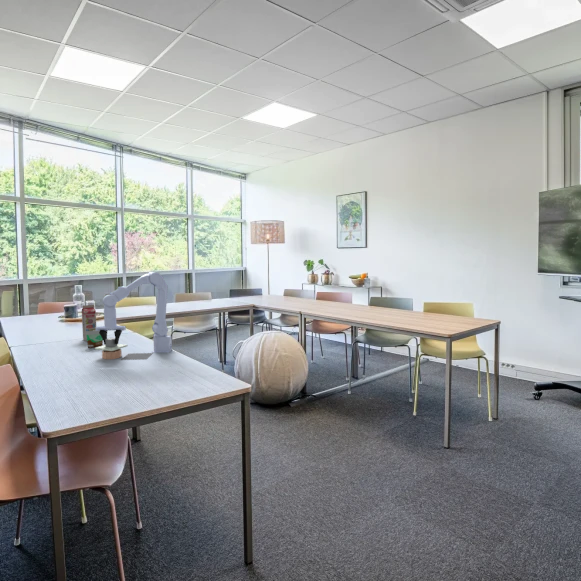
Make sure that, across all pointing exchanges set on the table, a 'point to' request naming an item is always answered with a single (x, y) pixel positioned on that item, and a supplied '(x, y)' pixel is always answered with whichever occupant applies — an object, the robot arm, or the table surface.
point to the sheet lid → (110, 345)
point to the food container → (94, 339)
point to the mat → (137, 356)
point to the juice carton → (88, 319)
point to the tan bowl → (111, 354)
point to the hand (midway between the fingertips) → (111, 344)
